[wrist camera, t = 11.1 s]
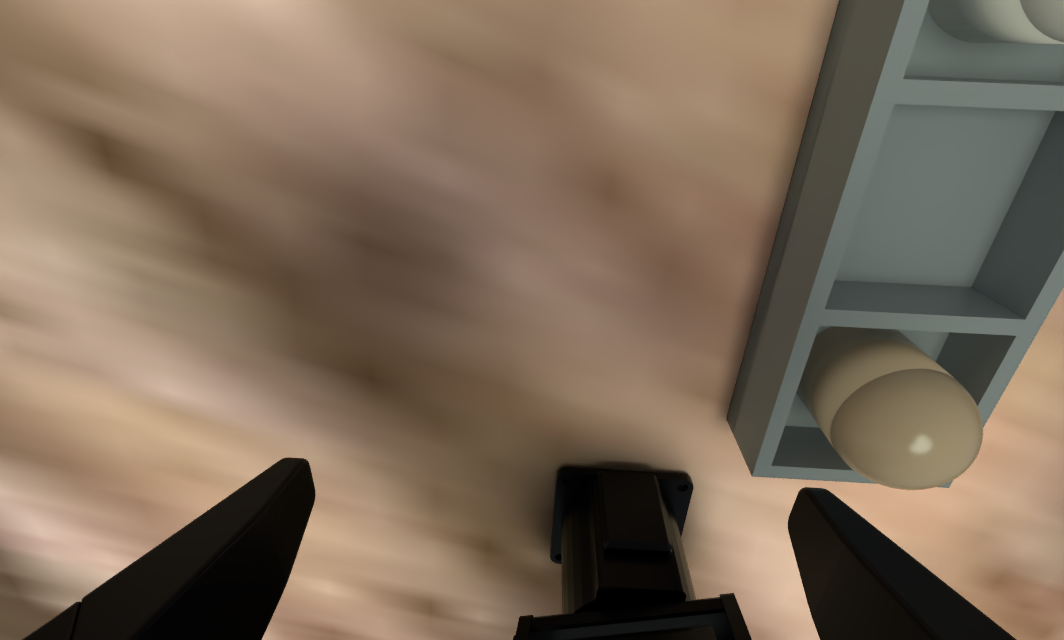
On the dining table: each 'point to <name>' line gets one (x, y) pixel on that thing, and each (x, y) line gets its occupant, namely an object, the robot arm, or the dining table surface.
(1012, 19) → the cream egg
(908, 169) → the grey long rectangular tray
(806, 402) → the brown egg
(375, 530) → the dining table surface
